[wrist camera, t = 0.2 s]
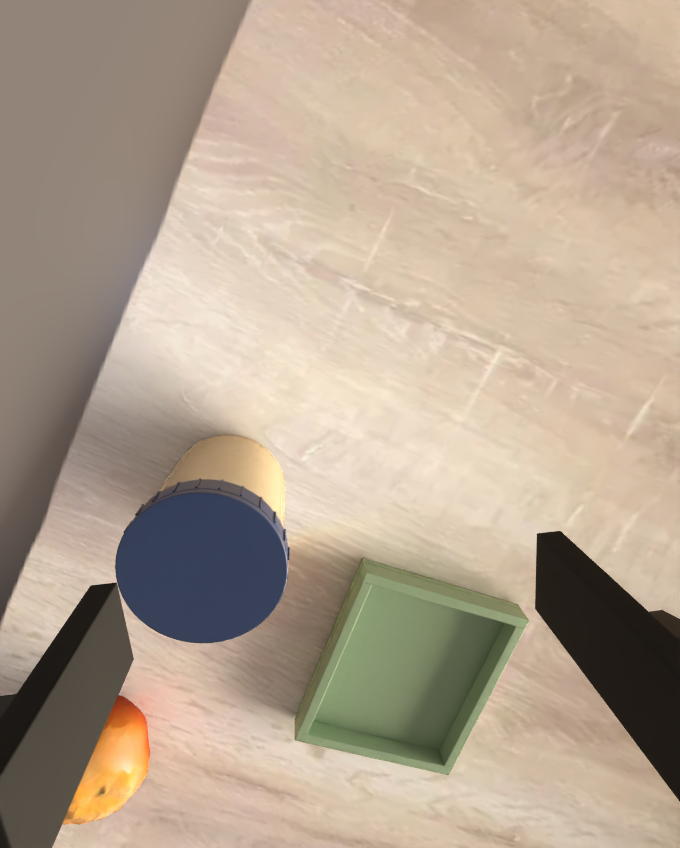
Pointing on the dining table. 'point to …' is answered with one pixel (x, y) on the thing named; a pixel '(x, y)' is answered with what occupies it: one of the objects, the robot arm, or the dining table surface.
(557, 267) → the dining table surface
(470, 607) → the tray
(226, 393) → the dining table surface
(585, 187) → the dining table surface
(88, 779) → the fruit
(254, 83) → the dining table surface
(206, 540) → the lid
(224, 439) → the jar
